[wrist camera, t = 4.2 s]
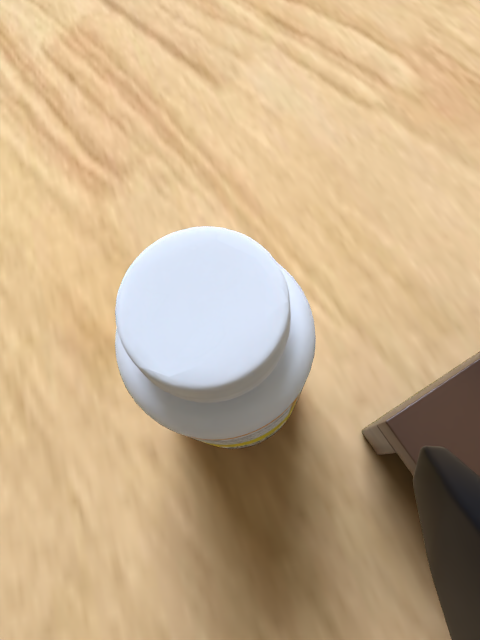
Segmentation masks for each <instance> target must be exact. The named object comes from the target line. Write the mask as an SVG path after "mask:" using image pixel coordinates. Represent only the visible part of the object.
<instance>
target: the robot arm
mask: <svg viewBox="0 0 480 640" xmlns="http://www.w3.org/2000/svg"><path fill="white" fill-rule="evenodd" d="M413 487H414V493H415V498H416V503H417V508H418V513H419V518H420V523H421V528H422V533H423V538H424V543H425V548H426V553H427V558H428V563H429V567H430V571H431V574H432V578H433V581H434V585H435V588H436V591H437V594H438V597H439V601H440V604H441V607H442V610H443V613H444V616H445V620H446V623H447V626H448V629H449V632H450V636H451V639H452V640H480V476H479V475H477V474H476V473H475V472H474V471H473V470H471V469H470V468H469V467H468V466H467V465H466V464H464V463H463V462H462V461H461V460H460V459H459V458H457V457H456V456H455V455H454V454H453V453H452V452H450V451H449V450H448V449H446V448H445V447H440V446H424V447H422V448H421V450H420V453H419V457H418V461H417V465H416V469H415V473H414V477H413Z"/></svg>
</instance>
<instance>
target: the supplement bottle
mask: <svg viewBox="0 0 480 640" xmlns="http://www.w3.org/2000/svg"><path fill="white" fill-rule="evenodd" d="M115 315H116V325H117V329H116V339H115V348H116V358H117V363H118V368H119V371H120V375H121V377H122V380H123V382H124V384H125V386H126V388H127V390H128V392H129V393H130V395H131V396H132V398H133V399H134V401H135V402H136V403H137V404H138V406H139V407H140V408H141V409H142V410H143V411H144V412H145V413H146V414H147V415H149V416H150V417H151V418H152V419H154V420H155V421H157V422H158V423H159V424H161V425H162V426H164V427H166V428H168V429H170V430H172V431H174V432H176V433H179V434H181V435H184V436H187V437H190V438H193V439H196V440H198V441H201V442H204V443H207V444H210V445H213V446H216V447H221V448H228V449H237V448H245V447H249V446H253V445H256V444H259V443H261V442H263V441H264V440H266V439H268V438H269V437H271V436H272V435H274V434H275V433H276V432H277V431H278V430H279V429H280V428H281V427H282V426H283V425H284V424H285V422H286V421H287V420H288V418H289V416H290V415H291V413H292V411H293V409H294V406H295V404H296V402H297V400H298V398H299V395H300V393H301V391H302V388H303V386H304V384H305V382H306V379H307V377H308V375H309V372H310V369H311V366H312V362H313V358H314V352H315V339H316V338H315V326H314V320H313V316H312V312H311V308H310V305H309V303H308V300H307V298H306V296H305V294H304V292H303V291H302V289H301V287H300V286H299V284H298V283H297V282H296V280H295V279H294V278H293V277H292V276H291V275H290V274H289V273H288V272H287V271H286V270H285V269H284V268H283V267H282V266H281V265H279V264H278V263H277V262H276V260H275V259H274V258H273V257H272V256H271V255H270V253H269V252H268V251H267V250H266V249H265V248H263V247H262V246H261V245H260V244H259V243H257V242H256V241H254V240H253V239H252V238H250V237H248V236H246V235H244V234H241V233H239V232H236V231H233V230H229V229H225V228H219V227H194V228H188V229H184V230H180V231H176V232H174V233H171V234H169V235H167V236H165V237H163V238H161V239H159V240H158V241H156V242H154V243H153V244H152V245H150V246H149V247H147V248H146V249H145V250H144V251H143V252H142V253H141V254H140V255H139V256H138V257H137V258H136V259H135V260H134V262H133V263H132V264H131V266H130V267H129V269H128V270H127V272H126V274H125V276H124V278H123V280H122V283H121V285H120V288H119V291H118V295H117V300H116V311H115Z"/></svg>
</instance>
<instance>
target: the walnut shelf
mask: <svg viewBox="0 0 480 640" xmlns="http://www.w3.org/2000/svg"><path fill="white" fill-rule="evenodd" d="M362 433H363V435H364V436H365V437H366V439H367V440H368V442H369V443H370V445H371V446H372V448H373V449H374V450H375V452H376V453H377V454H378V455H384V454H392V453H397V454H398V455H399V457H400V458H401V459H402V461H403V462H404V464H405V465H406V466H407V468H408V469H409V471H410V472H411V473H412V475H413V476H414V473H415V469H416V465H417V461H418V457H419V453H420V450H421V448H422V447H424V446H440V447H445V448H446V449H448V450H449V451H450V452H452V453H453V454H454V455H455V456H456V457H457V458H459V459H460V460H461V461H462V462H463V463H464V464H466V465H467V466H468V467H469V468H470V469H471V470H473V471H474V472H475V473H476V474H477V475H479V476H480V352H478V353H477V354H475V355H474V356H472V357H471V358H469V359H468V360H466V361H465V362H463V363H462V364H460V365H459V366H457V367H456V368H454V369H453V370H451V371H450V372H448V373H447V374H445V375H444V376H442V377H441V378H439V379H438V380H436V381H435V382H433V383H432V384H430V385H429V386H427V387H426V388H424V389H423V390H421V391H420V392H418V393H417V394H415V395H414V396H412V397H411V398H409V399H408V400H406V401H405V402H403V403H402V404H400V405H399V406H397V407H396V408H394V409H393V410H391V411H390V412H388V413H387V414H385V415H384V416H382V417H381V418H379V419H378V420H376V421H374V422H373V423H371V424H370V425H368V426H367V427H365V428H364V429H363V430H362Z"/></svg>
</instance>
